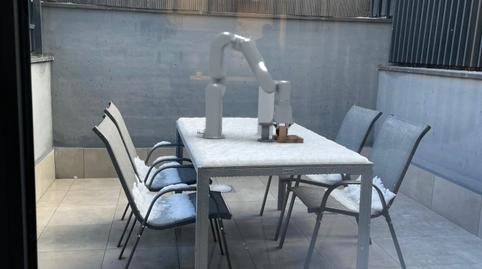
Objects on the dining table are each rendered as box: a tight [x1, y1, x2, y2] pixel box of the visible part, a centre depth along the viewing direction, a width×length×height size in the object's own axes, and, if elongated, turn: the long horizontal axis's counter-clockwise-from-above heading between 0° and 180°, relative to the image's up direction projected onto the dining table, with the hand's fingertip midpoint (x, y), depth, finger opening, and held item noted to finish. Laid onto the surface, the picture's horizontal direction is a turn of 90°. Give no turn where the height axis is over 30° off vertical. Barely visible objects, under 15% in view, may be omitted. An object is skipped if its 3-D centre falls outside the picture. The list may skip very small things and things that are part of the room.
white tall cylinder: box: [256, 85, 275, 137], centre depth 275 cm, size 9×9×30 cm
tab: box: [278, 125, 286, 137], centre depth 256 cm, size 4×4×6 cm
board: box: [271, 134, 305, 144], centre depth 257 cm, size 14×14×2 cm
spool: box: [256, 122, 274, 143], centre depth 254 cm, size 9×9×10 cm
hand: (281, 135), depth 256 cm, fingers closed on tab, 3 cm apart
